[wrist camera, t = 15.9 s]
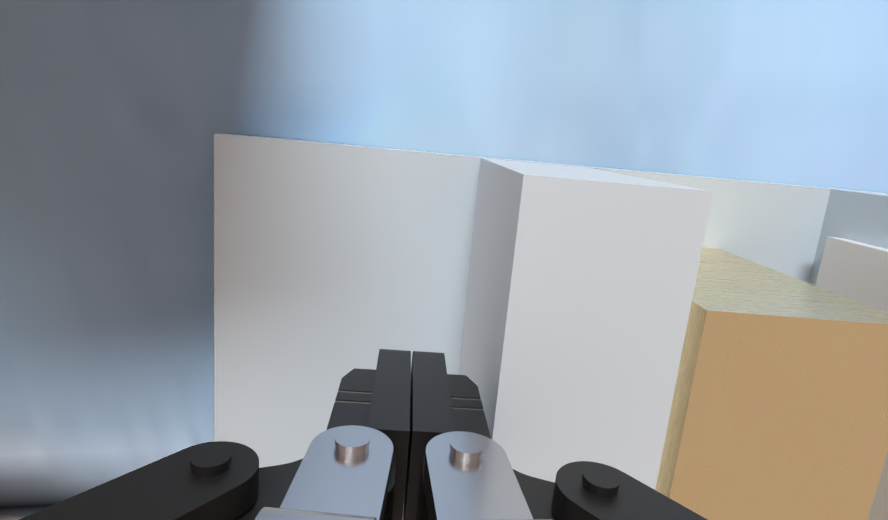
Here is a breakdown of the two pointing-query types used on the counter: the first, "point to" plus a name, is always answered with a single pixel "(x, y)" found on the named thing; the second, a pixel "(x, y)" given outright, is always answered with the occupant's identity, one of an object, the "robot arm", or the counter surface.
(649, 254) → the jaw
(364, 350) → the vise
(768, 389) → the block
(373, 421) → the robot arm
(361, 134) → the counter surface
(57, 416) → the counter surface
